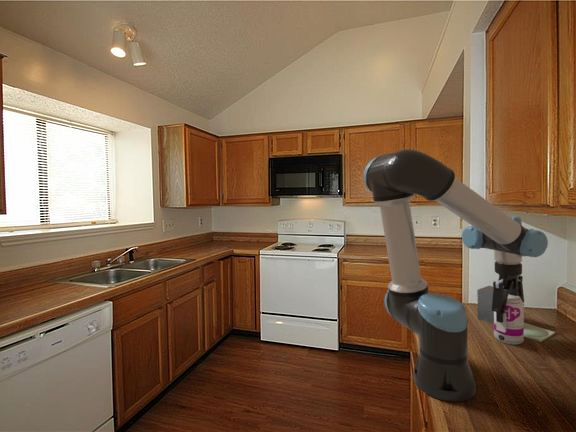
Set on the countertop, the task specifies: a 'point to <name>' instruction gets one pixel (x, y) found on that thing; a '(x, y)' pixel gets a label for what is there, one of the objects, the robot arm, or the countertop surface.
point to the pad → (536, 332)
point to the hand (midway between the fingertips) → (508, 327)
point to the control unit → (485, 304)
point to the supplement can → (512, 322)
